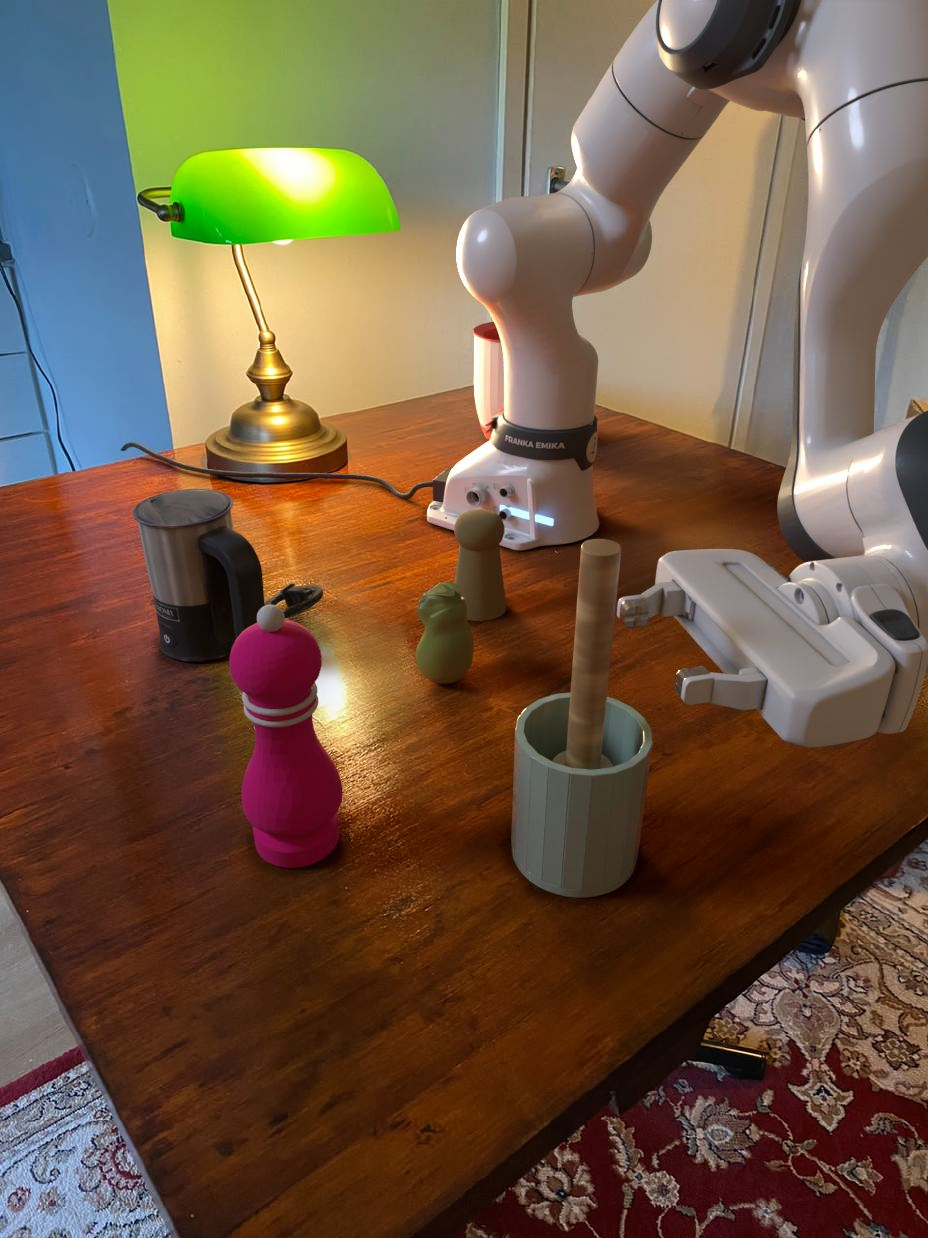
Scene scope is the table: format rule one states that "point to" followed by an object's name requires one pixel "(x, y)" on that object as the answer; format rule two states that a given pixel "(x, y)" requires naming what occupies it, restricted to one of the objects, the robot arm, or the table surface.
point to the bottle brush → (592, 654)
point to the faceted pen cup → (578, 800)
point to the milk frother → (204, 574)
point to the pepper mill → (285, 743)
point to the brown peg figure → (480, 564)
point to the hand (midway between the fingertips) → (648, 647)
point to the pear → (444, 635)
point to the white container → (488, 373)
